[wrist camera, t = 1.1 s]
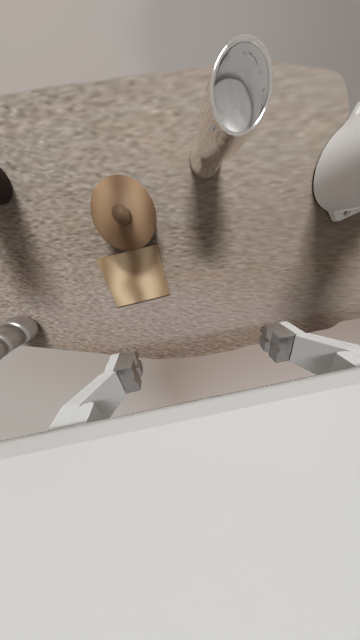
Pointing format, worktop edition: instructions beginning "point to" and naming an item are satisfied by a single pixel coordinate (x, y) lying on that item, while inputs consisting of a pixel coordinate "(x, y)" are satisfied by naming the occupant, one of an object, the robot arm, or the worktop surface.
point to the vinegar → (4, 188)
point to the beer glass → (231, 103)
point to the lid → (123, 212)
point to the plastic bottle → (16, 333)
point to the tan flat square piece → (134, 275)
